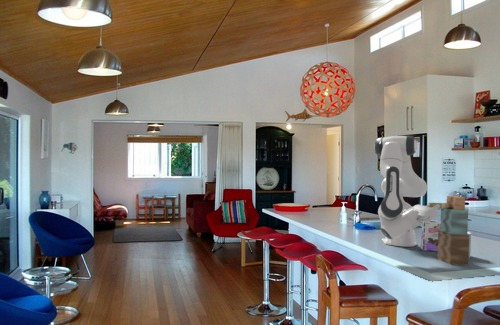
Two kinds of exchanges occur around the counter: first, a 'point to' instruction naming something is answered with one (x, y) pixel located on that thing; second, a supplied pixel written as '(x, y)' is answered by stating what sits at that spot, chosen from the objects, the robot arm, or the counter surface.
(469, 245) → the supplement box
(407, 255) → the counter surface
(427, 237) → the candy box
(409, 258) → the counter surface
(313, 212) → the counter surface
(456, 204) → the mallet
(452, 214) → the tower
